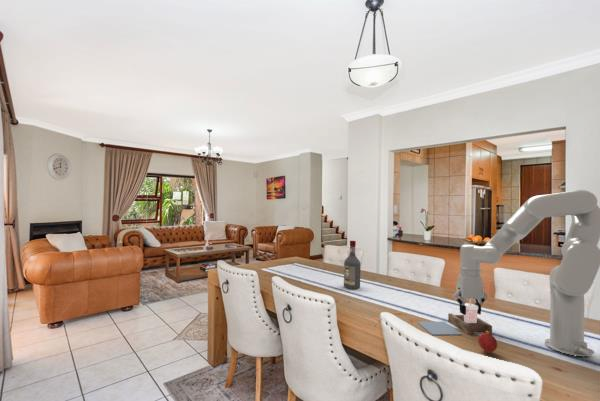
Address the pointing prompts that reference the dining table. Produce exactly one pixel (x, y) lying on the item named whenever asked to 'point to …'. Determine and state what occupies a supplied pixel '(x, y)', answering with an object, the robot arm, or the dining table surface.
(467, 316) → the beverage cup
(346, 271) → the liquor
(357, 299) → the dining table surface
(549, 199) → the robot arm
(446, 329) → the mat
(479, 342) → the onion
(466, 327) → the wooden crate
